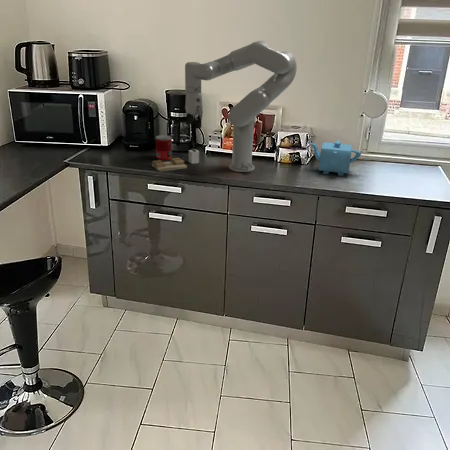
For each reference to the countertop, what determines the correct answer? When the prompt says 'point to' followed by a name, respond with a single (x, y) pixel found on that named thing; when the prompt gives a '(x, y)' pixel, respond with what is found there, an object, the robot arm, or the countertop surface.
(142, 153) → the countertop surface
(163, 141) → the canned food
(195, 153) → the tab
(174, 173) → the countertop surface
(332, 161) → the teakettle
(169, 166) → the board
